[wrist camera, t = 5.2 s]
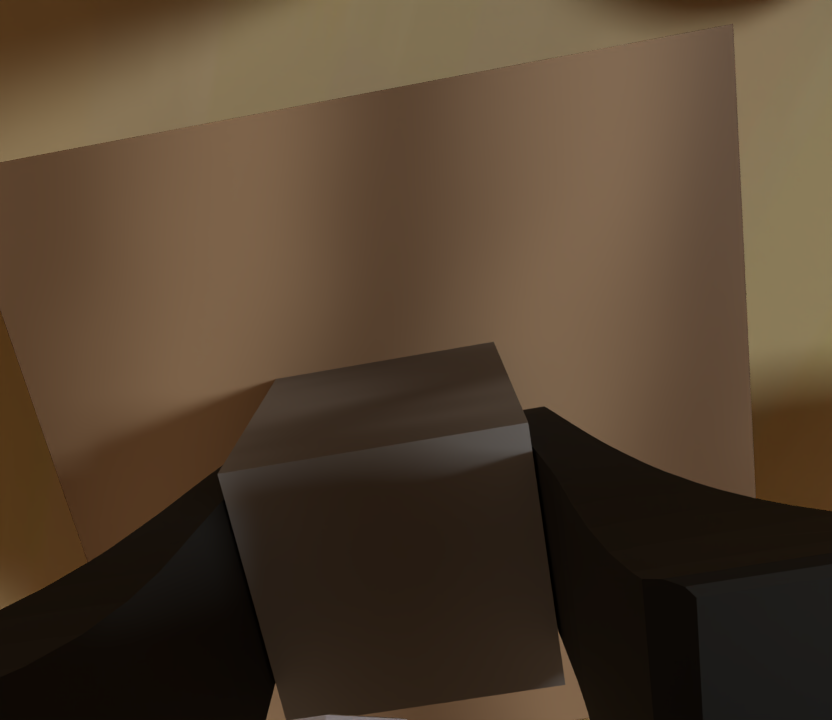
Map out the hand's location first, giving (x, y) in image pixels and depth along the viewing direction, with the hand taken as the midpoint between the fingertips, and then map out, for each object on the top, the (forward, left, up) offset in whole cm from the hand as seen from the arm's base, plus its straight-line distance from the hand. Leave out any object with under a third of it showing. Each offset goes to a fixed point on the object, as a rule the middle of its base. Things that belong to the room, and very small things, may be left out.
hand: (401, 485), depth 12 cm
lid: (0, 0, -3) cm, 3 cm away
